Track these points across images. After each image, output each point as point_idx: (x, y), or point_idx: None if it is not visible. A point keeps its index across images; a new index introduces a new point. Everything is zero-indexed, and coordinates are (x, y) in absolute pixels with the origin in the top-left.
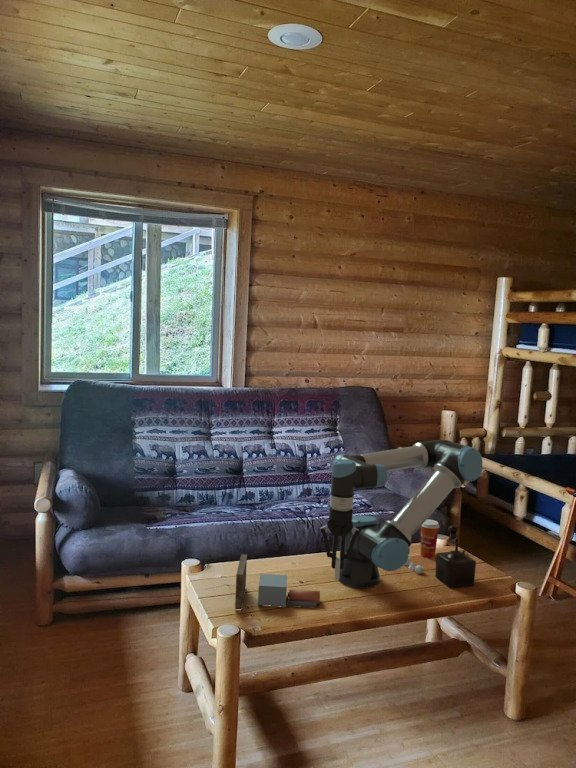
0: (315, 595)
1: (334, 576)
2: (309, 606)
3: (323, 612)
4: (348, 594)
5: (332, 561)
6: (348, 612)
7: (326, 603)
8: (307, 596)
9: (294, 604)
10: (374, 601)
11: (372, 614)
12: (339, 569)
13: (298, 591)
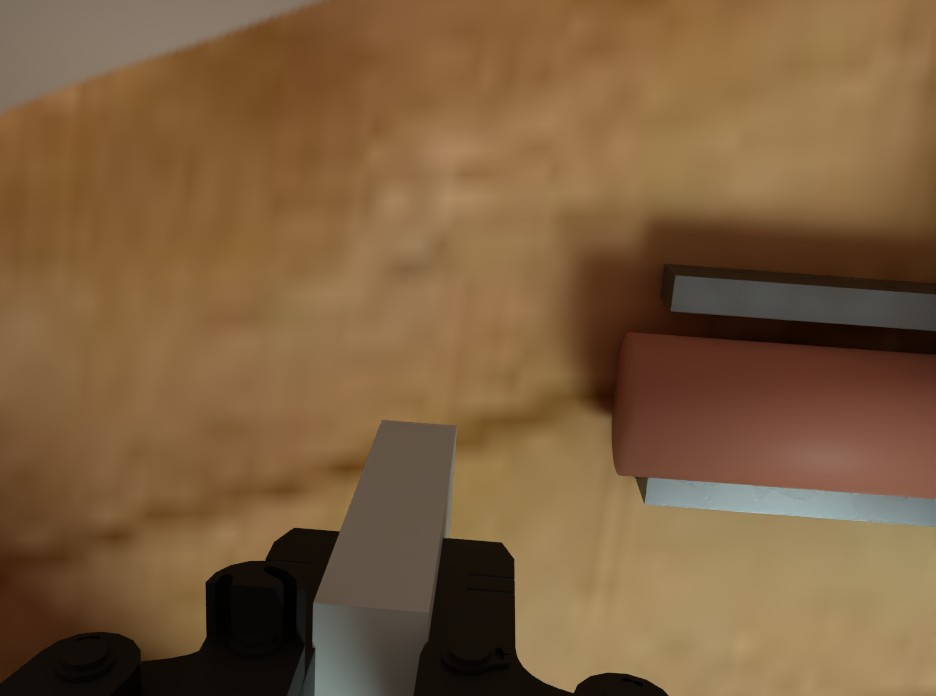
0: (691, 371)
1: (452, 478)
2: (748, 272)
3: (600, 162)
4: None
5: (503, 626)
6: (313, 172)
7: (535, 370)
8: (789, 365)
9: (928, 288)
10: (5, 428)
11: (45, 135)
12: (359, 498)
13: (910, 430)
